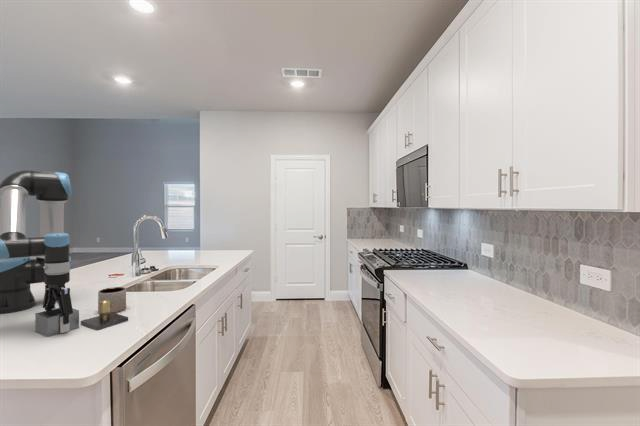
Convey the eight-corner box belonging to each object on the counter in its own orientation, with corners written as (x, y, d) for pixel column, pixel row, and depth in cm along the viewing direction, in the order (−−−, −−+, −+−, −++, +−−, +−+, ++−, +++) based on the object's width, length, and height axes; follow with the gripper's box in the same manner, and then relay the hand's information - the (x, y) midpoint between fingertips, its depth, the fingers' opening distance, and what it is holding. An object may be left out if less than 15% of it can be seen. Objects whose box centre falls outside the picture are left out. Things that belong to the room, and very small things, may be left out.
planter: (93, 315, 138) (93, 293, 137) (103, 307, 148) (103, 287, 148) (121, 313, 140) (121, 292, 140) (129, 306, 151) (129, 286, 151)
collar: (35, 331, 120) (35, 313, 119) (66, 323, 128) (66, 306, 128) (47, 336, 115) (47, 318, 115) (78, 327, 124) (78, 310, 124)
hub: (80, 324, 127) (80, 302, 127) (111, 315, 137) (111, 295, 137) (96, 330, 121) (96, 307, 121) (128, 320, 132) (128, 299, 132)
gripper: (31, 271, 123) (31, 326, 124) (60, 278, 112) (60, 338, 113) (54, 268, 130) (54, 320, 130) (84, 274, 119) (84, 331, 119)
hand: (57, 329), depth 122 cm, fingers open, 11 cm apart
